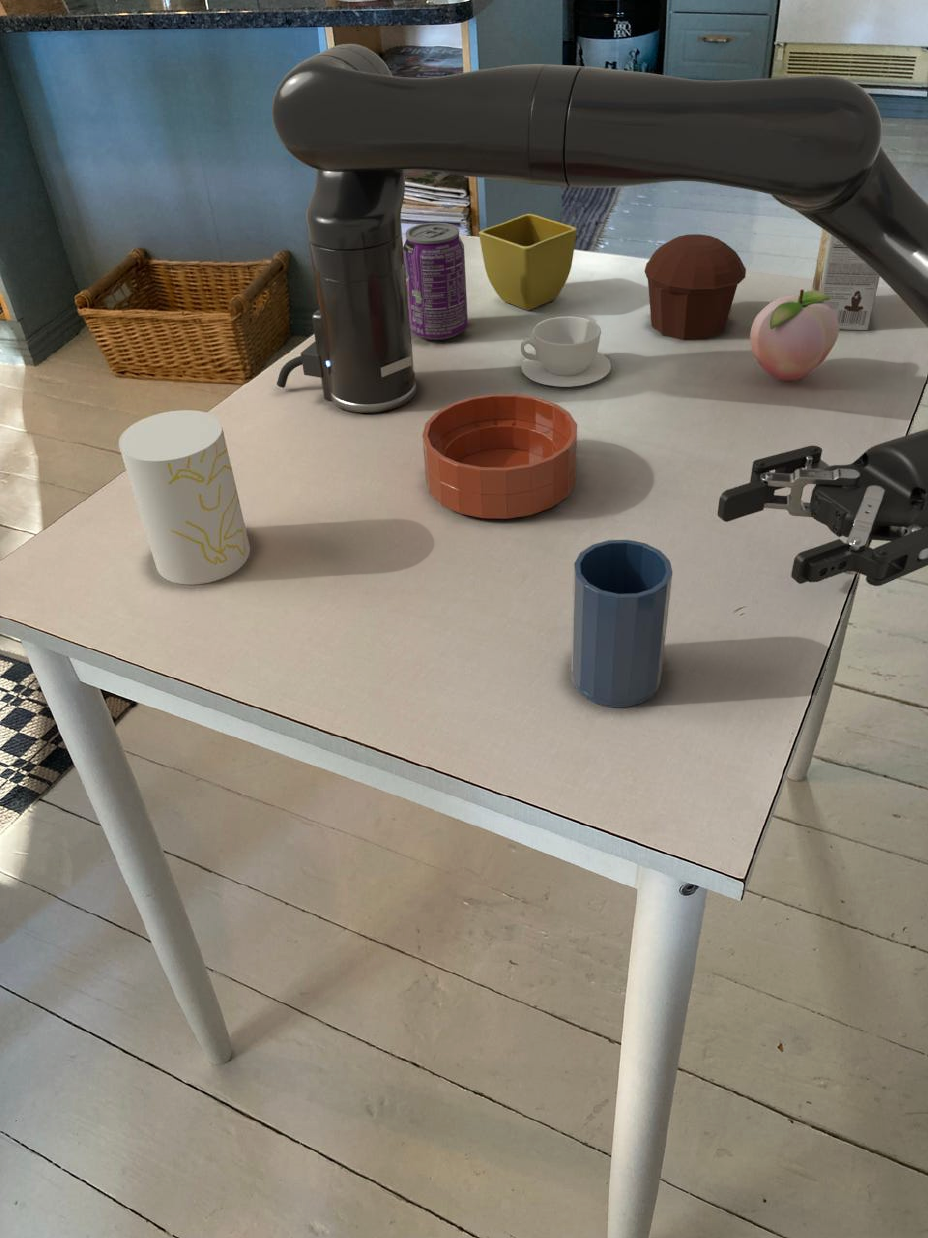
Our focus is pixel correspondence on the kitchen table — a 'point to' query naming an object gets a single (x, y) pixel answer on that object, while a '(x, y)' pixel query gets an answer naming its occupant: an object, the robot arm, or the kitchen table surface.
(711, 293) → the muffin
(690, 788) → the kitchen table surface
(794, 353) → the decorative fruit
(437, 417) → the bowl
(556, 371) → the teacup
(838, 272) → the coffee box
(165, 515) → the cup
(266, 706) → the kitchen table surface
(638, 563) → the tumbler
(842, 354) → the kitchen table surface
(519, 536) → the kitchen table surface
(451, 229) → the beverage can
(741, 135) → the robot arm
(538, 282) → the flower pot
